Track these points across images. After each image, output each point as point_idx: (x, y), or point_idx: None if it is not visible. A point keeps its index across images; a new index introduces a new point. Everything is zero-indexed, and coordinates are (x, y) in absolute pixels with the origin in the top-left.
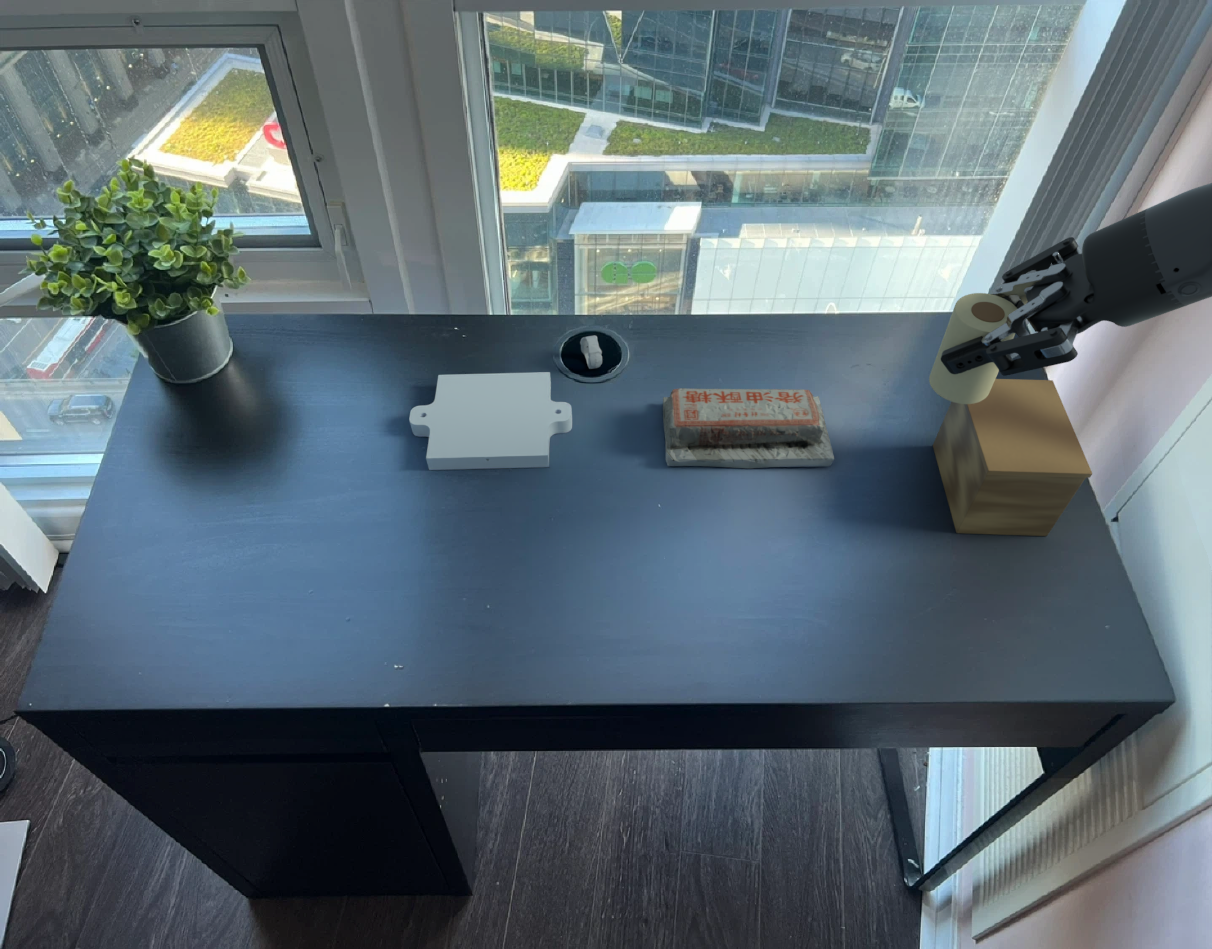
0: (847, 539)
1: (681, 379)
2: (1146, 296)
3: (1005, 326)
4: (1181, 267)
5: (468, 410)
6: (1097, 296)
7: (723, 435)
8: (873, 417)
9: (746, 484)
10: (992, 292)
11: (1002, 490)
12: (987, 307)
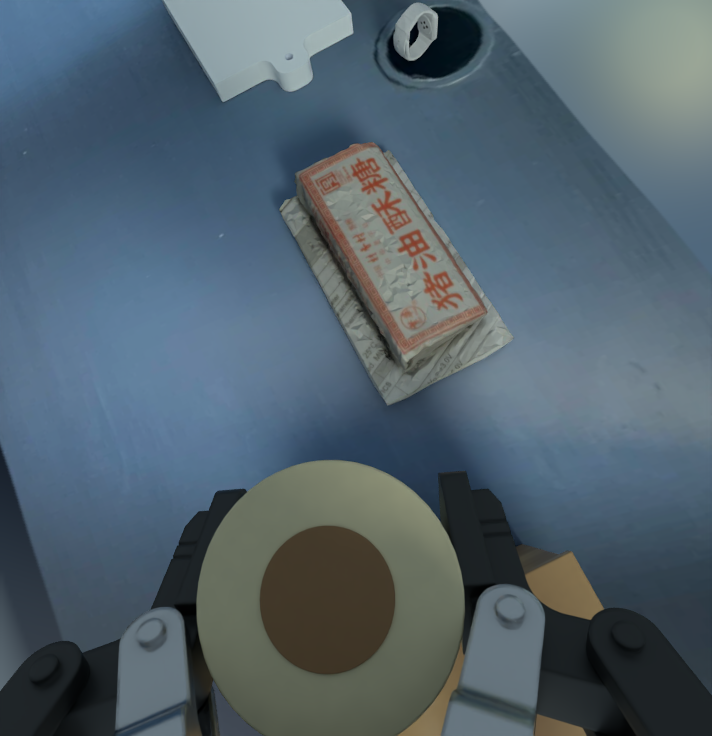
0: (269, 474)
1: (451, 158)
2: None
3: (158, 703)
4: None
5: None
6: None
7: (328, 242)
8: (532, 433)
9: (303, 314)
10: (495, 586)
11: None
12: (353, 588)
